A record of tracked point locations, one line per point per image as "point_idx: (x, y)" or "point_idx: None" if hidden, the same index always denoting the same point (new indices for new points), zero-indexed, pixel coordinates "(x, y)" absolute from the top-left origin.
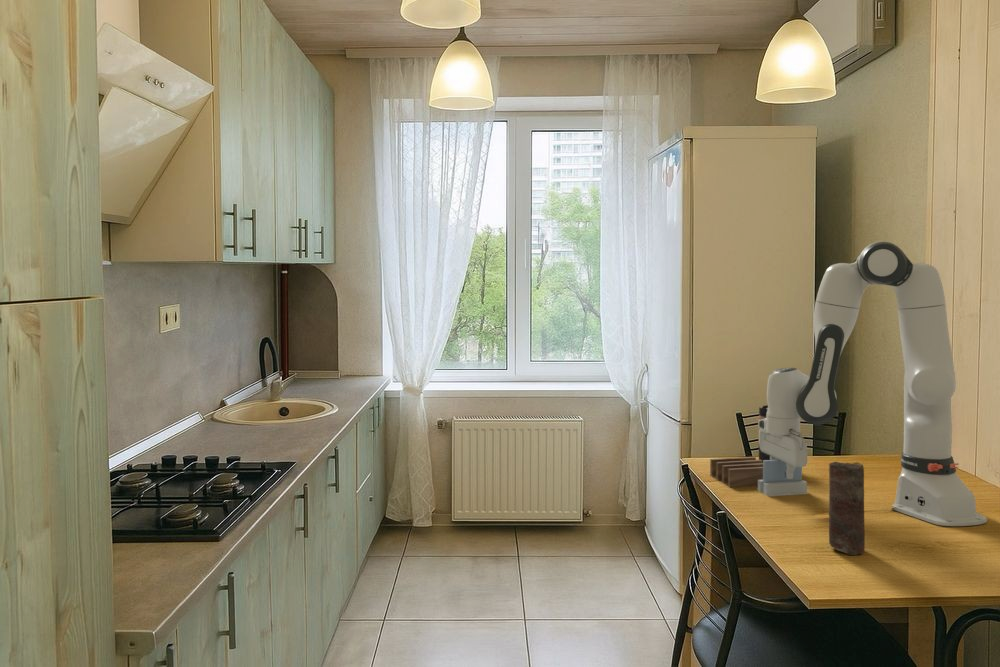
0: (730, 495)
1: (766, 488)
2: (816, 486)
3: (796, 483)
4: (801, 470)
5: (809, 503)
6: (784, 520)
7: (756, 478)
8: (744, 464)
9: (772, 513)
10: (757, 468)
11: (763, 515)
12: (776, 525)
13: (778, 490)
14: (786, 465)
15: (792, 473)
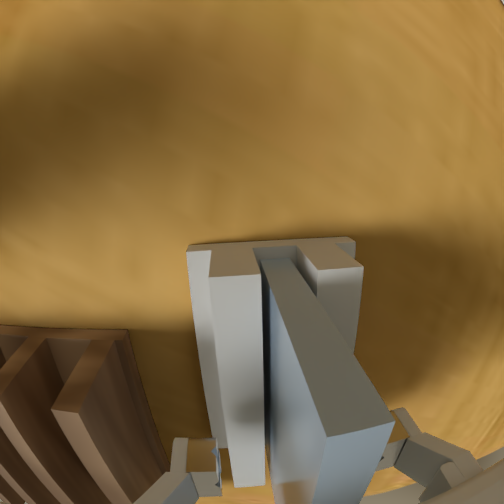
0: (235, 493)
1: None
2: (123, 67)
3: (353, 343)
4: (335, 331)
5: (430, 283)
6: (489, 405)
7: (136, 451)
8: (55, 492)
9: (444, 426)
10: (125, 492)
11: None
12: (494, 422)
13: None
14: (423, 501)
15: (417, 432)
